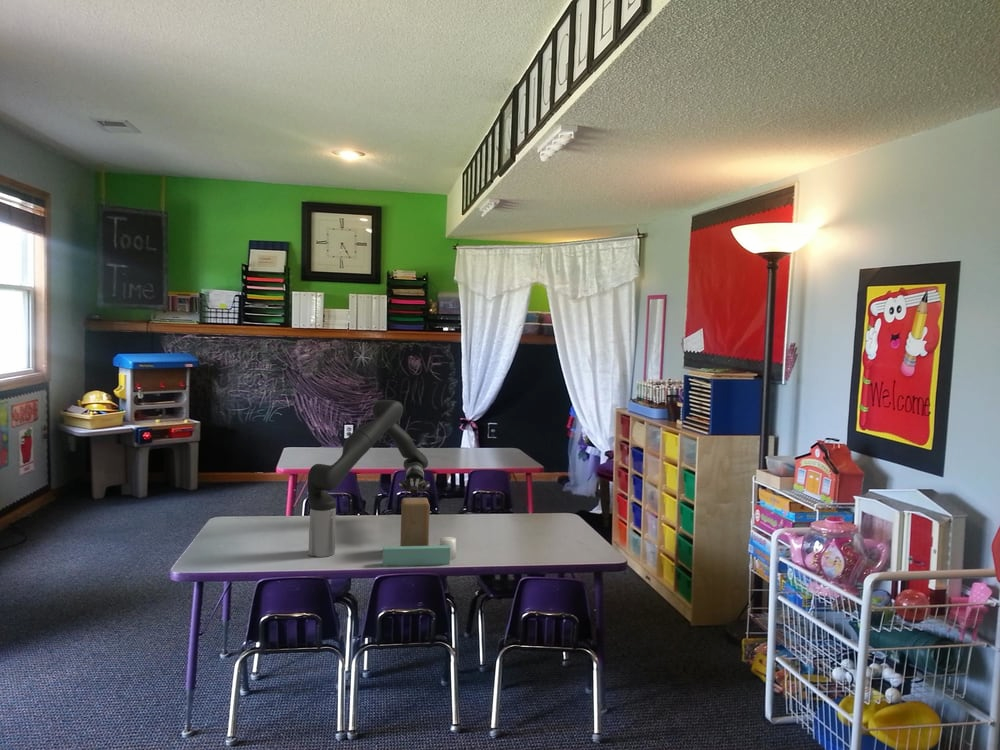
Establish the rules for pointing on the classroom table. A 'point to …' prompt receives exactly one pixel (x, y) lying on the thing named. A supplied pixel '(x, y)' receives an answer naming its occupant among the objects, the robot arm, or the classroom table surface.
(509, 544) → the classroom table surface
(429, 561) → the teal block
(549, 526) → the classroom table surface
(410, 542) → the wooden block
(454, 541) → the cream rounded cylinder
